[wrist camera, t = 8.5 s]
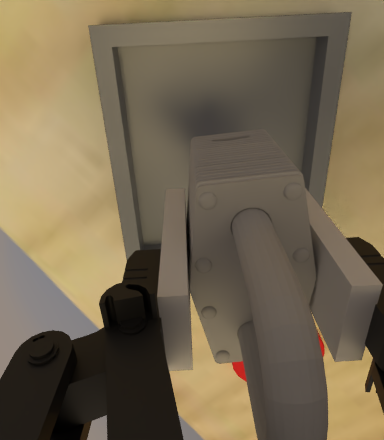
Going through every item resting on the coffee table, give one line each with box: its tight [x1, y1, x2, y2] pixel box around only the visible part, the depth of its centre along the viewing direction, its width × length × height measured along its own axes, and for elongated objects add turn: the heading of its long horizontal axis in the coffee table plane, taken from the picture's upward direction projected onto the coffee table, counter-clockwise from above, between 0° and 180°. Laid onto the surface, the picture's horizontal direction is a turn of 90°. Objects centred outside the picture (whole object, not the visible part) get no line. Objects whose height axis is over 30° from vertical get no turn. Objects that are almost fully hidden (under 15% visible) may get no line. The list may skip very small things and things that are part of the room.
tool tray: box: [88, 12, 352, 259], centre depth 22 cm, size 13×15×2 cm
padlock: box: [187, 129, 328, 440], centre depth 11 cm, size 7×4×10 cm, turn 6°
